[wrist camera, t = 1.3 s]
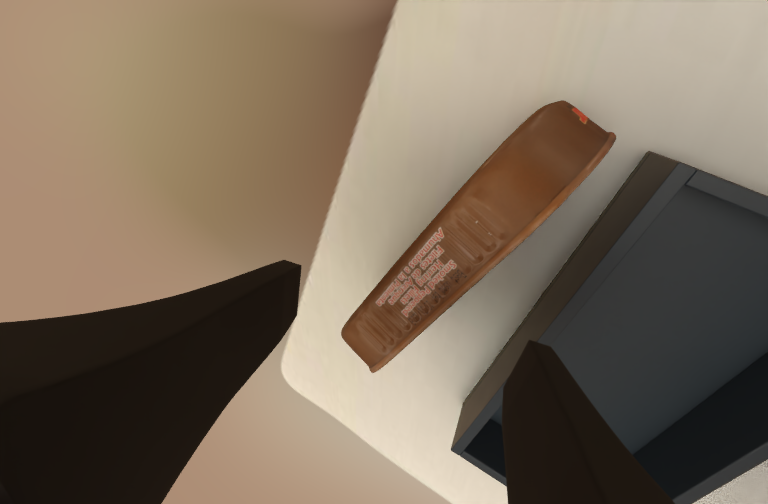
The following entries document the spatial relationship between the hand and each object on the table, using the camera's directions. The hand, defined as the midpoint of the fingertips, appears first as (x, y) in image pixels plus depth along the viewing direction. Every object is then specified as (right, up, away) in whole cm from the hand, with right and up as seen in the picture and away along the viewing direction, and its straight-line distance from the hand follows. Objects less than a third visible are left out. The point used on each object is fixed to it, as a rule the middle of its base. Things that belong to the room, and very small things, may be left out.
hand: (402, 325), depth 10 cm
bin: (+12, -3, +8) cm, 15 cm away
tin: (+4, +4, +9) cm, 11 cm away
